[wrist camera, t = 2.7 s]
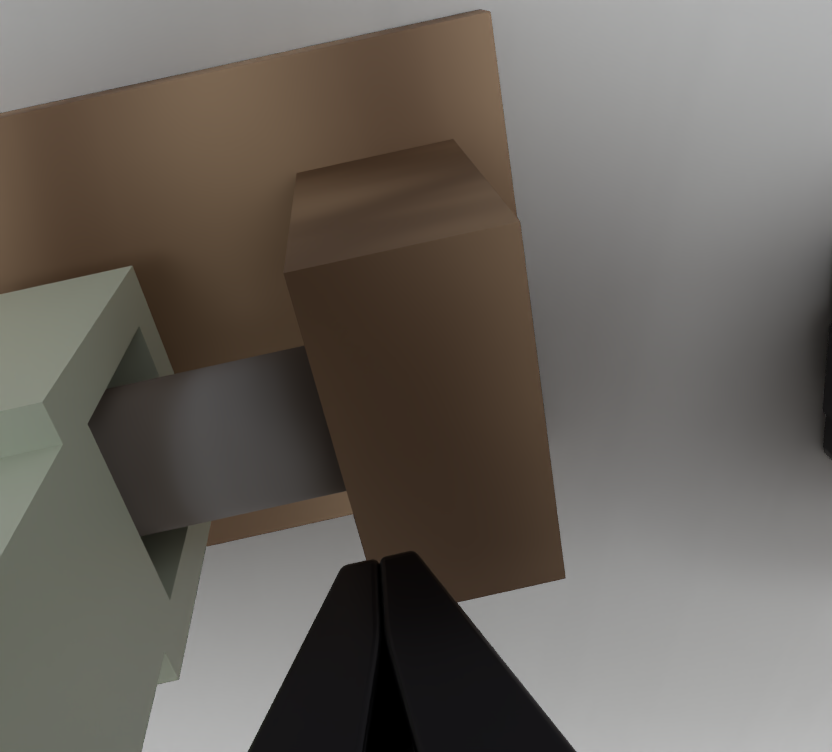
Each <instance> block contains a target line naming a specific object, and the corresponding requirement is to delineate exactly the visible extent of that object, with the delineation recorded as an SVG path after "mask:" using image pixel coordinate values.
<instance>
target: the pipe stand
mask: <svg viewBox="0 0 832 752" xmlns="http://www.w3.org/2000/svg"><path fill="white" fill-rule="evenodd" d="M128 266H133V268H134V271H135V273H136V276H137V279H138V281H139V284H140V286H141V289H142V292H143V294H144V297H145V299H146V302H147V304H148V307H149V310H150V312H151V315H152V317H153V320H154V322H155V325H156V328H157V330H158V333H159V335H160V338H161V340H162V343H163V346H164V348H165V351H166V353H167V356H168V359H169V361H170V364H171V366H172V369H173V371H174V374H172V375H167V376H163V377H158V378H154V379H149V380H145V381H140V382H135V383H131V384H126V385H122V386H117V387H113V388H108V389H106V390H105V392H104V393H103V395H102V397H101V399H100V401H99V403H98V405H97V407H96V409H95V411H94V412H93V414H92V416H91V418H90V420H89V422H88V426H89V428H90V430H91V432H92V435H93V437H94V439H95V441H96V443H97V445H98V447H99V450H100V452H101V454H102V456H103V458H104V460H105V462H106V465H107V467H108V469H109V471H110V473H111V475H112V477H113V480H114V482H115V484H116V486H117V488H118V490H119V492H120V495H121V497H122V499H123V501H124V503H125V505H126V507H127V510H128V512H129V514H130V516H131V518H132V520H133V522H134V525H135V527H136V529H137V531H138V533H139V535H140V537H141V536H145V535H150V534H154V533H159V532H163V531H168V530H172V529H177V528H181V527H186V526H191V525H195V524H200V523H204V522H209V521H211V525H210V530H209V535H208V540H207V545H206V546H211V545H216V544H220V543H225V542H229V541H234V540H238V539H243V538H247V537H252V536H256V535H261V534H265V533H270V532H274V531H279V530H283V529H288V528H292V527H297V526H301V525H306V524H310V523H315V522H320V521H324V520H329V519H333V518H338V517H342V516H347V515H351V514H353V515H354V519H355V522H356V526H357V529H358V533H359V536H360V540H361V543H362V547H363V550H364V553H365V557H366V560H371V559H374V560H377V561H378V562H379V564H380V561H381V559H382V558H383V557H385V556H389V555H393V554H398V553H402V552H407V551H414V552H416V553H417V554H418V555H419V556H420V557H421V558H422V560H423V561H424V562H425V563H426V565H427V566H428V567H429V568H430V570H431V571H432V572H433V573H434V575H435V576H436V577H437V578H438V580H439V581H440V582H441V583H442V585H443V586H444V587H445V588H446V590H447V591H448V592H449V593H450V595H451V596H452V597H453V598H454V600H455V601H456V602H461V601H466V600H470V599H475V598H479V597H484V596H488V595H493V594H497V593H502V592H506V591H511V590H515V589H520V588H524V587H529V586H533V585H538V584H542V583H547V582H551V581H556V580H560V579H565V570H564V562H563V554H562V547H561V539H560V531H559V523H558V515H557V507H556V499H555V492H554V484H553V476H552V468H551V460H550V452H549V444H548V437H547V429H546V421H545V413H544V405H543V397H542V389H541V382H540V374H539V366H538V358H537V350H536V342H535V334H534V327H533V319H532V311H531V303H530V295H529V287H528V279H527V272H526V264H525V256H524V248H523V240H522V232H521V224H520V221H519V219H518V218H517V214H516V206H515V198H514V191H513V183H512V175H511V167H510V160H509V152H508V144H507V136H506V129H505V121H504V113H503V105H502V98H501V90H500V82H499V74H498V67H497V59H496V51H495V43H494V36H493V28H492V20H491V12H490V11H485V10H475V11H471V12H466V13H462V14H457V15H452V16H448V17H443V18H438V19H434V20H429V21H425V22H420V23H415V24H411V25H406V26H401V27H397V28H392V29H388V30H383V31H378V32H374V33H369V34H365V35H360V36H355V37H351V38H346V39H341V40H337V41H332V42H328V43H323V44H318V45H314V46H309V47H304V48H300V49H295V50H291V51H286V52H281V53H277V54H272V55H268V56H263V57H258V58H254V59H249V60H244V61H240V62H235V63H231V64H226V65H221V66H217V67H212V68H207V69H203V70H198V71H194V72H189V73H184V74H180V75H175V76H170V77H166V78H161V79H157V80H152V81H147V82H143V83H138V84H134V85H129V86H124V87H120V88H115V89H110V90H106V91H101V92H97V93H92V94H87V95H83V96H78V97H73V98H69V99H64V100H60V101H55V102H50V103H46V104H41V105H37V106H32V107H27V108H23V109H18V110H13V111H9V112H4V113H0V294H4V293H9V292H13V291H18V290H22V289H27V288H32V287H36V286H41V285H45V284H50V283H55V282H59V281H64V280H68V279H73V278H77V277H82V276H87V275H91V274H96V273H100V272H105V271H110V270H114V269H119V268H123V267H128Z"/></svg>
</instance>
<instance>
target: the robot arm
mask: <svg viewBox="0 0 832 752" xmlns="http://www.w3.org/2000/svg"><path fill="white" fill-rule="evenodd" d="M823 411H824V413H825V414H826V418H825V431H824V444H823V448H824V453H825V454H826V455H827V456H828V457H829V458H830V459H831V460H832V322H831V324H830V326H829V337H828V350H827V363H826V376H825V389H824V402H823ZM248 752H576V751H575V750H574V748H573V747H572V746H571V745H570V743H569V742H568V741H567V740H566V738H565V737H564V736H563V735H562V733H561V732H560V731H559V730H558V728H557V727H556V726H555V725H554V723H553V722H552V721H551V720H550V718H549V717H548V716H547V715H546V713H545V712H544V711H543V710H542V708H541V707H540V706H539V705H538V703H537V702H536V701H535V700H534V698H533V697H532V696H531V695H530V693H529V692H528V691H527V690H526V688H525V687H524V686H523V685H522V683H521V682H520V681H519V680H518V678H517V677H516V676H515V675H514V673H513V672H512V671H511V670H510V668H509V667H508V666H507V665H506V663H505V662H504V661H503V660H502V658H501V657H500V656H499V655H498V653H497V652H496V651H495V650H494V648H493V647H492V646H491V645H490V643H489V642H488V641H487V640H486V638H485V637H484V636H483V635H482V633H481V632H480V631H479V630H478V628H477V627H476V626H475V625H474V623H473V622H472V621H471V620H470V618H469V617H468V616H467V615H466V613H465V612H464V611H463V610H462V608H461V607H460V606H459V605H458V603H457V602H456V601H455V600H454V598H453V597H452V596H451V595H450V593H449V592H448V591H447V590H446V588H445V587H444V586H443V585H442V583H441V582H440V581H439V580H438V578H437V577H436V576H435V575H434V573H433V572H432V571H431V570H430V568H429V567H428V566H427V565H426V563H425V562H424V561H423V560H422V558H421V557H420V556H419V555H418V554H417V553H416V552H414V551H407V552H402V553H398V554H393V555H389V556H385V557H383V558H382V559H381V561H380V564H379V562H378V561H377V560H374V559H371V560H366V561H362V562H357V563H353V564H348V565H345V566H343V567H342V568H341V569H340V571H339V573H338V575H337V577H336V579H335V581H334V583H333V585H332V587H331V589H330V591H329V593H328V595H327V597H326V599H325V601H324V603H323V605H322V607H321V608H320V610H319V612H318V614H317V616H316V618H315V620H314V622H313V624H312V626H311V628H310V630H309V632H308V634H307V636H306V638H305V640H304V642H303V644H302V646H301V648H300V650H299V652H298V654H297V656H296V658H295V660H294V662H293V664H292V666H291V668H290V670H289V672H288V674H287V676H286V678H285V679H284V681H283V683H282V685H281V687H280V689H279V691H278V693H277V695H276V697H275V699H274V701H273V703H272V705H271V707H270V709H269V711H268V713H267V715H266V717H265V719H264V721H263V723H262V725H261V727H260V729H259V731H258V733H257V735H256V737H255V739H254V741H253V743H252V745H251V747H250V749H249V750H248Z"/></svg>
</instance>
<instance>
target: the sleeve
mask: <svg viewBox="0 0 832 752" xmlns="http://www.w3.org/2000/svg"><path fill="white" fill-rule="evenodd" d="M172 374H174V371H173V369H172V366H171V364H170V361H169V359H168V356H167V353H166V351H165V348H164V346H163V343H162V340H161V338H160V335H159V333H158V330H157V328H156V325H155V322H154V320H153V317H152V315H151V312H150V310H149V307H148V304H147V302H146V299H145V297H144V294H143V292H142V289H141V286H140V284H139V281H138V279H137V276H136V273H135V271H134V268H133V266H128V267H123V268H119V269H114V270H110V271H105V272H100V273H96V274H91V275H87V276H82V277H77V278H73V279H68V280H64V281H59V282H55V283H50V284H45V285H41V286H36V287H32V288H27V289H22V290H18V291H13V292H9V293H4V294H0V752H141V751H142V747H143V743H144V739H145V734H146V730H147V726H148V721H149V717H150V713H151V709H152V704H153V700H154V696H155V692H156V687H157V684H161V683H166V682H170V681H175V680H179V677H180V672H181V667H182V662H183V657H184V652H185V647H186V643H187V638H188V633H189V628H190V623H191V618H192V613H193V608H194V603H195V599H196V594H197V589H198V584H199V579H200V574H201V569H202V564H203V559H204V555H205V550H206V545H207V540H208V535H209V530H210V525H211V521H209V522H204V523H200V524H195V525H191V526H186V527H181V528H177V529H172V530H168V531H163V532H159V533H154V534H150V535H145V536H141V537H140V535H139V533H138V531H137V529H136V527H135V525H134V522H133V520H132V518H131V516H130V514H129V512H128V510H127V507H126V505H125V503H124V501H123V499H122V497H121V495H120V492H119V490H118V488H117V486H116V484H115V482H114V480H113V477H112V475H111V473H110V471H109V469H108V467H107V465H106V462H105V460H104V458H103V456H102V454H101V452H100V450H99V447H98V445H97V443H96V441H95V439H94V437H93V435H92V432H91V430H90V428H89V426H88V422H89V420H90V418H91V416H92V414H93V412H94V411H95V409H96V407H97V405H98V403H99V401H100V399H101V397H102V395H103V393H104V392H105V390H106V389H108V388H113V387H117V386H122V385H126V384H131V383H135V382H140V381H145V380H149V379H154V378H158V377H163V376H167V375H172Z"/></svg>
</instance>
